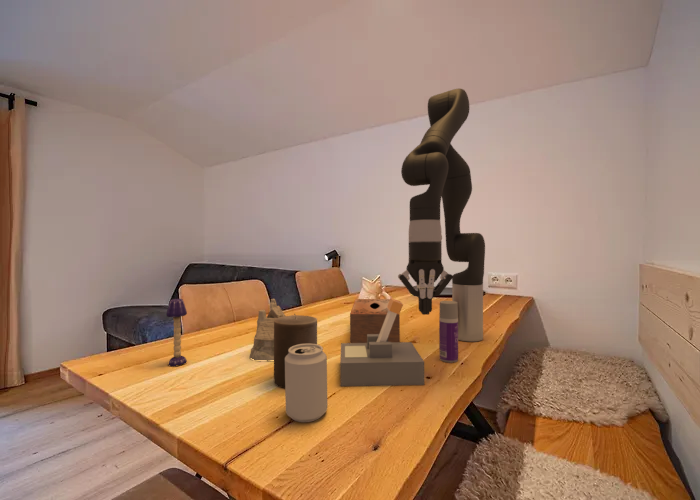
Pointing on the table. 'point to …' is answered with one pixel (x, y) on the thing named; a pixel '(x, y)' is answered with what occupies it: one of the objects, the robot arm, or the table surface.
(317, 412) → the can
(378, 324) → the tissue box cover
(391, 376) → the box
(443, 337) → the container
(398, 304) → the breaker lever
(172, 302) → the toy lamp
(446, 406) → the table surface
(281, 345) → the pillar candle
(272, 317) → the ceramic cottage
